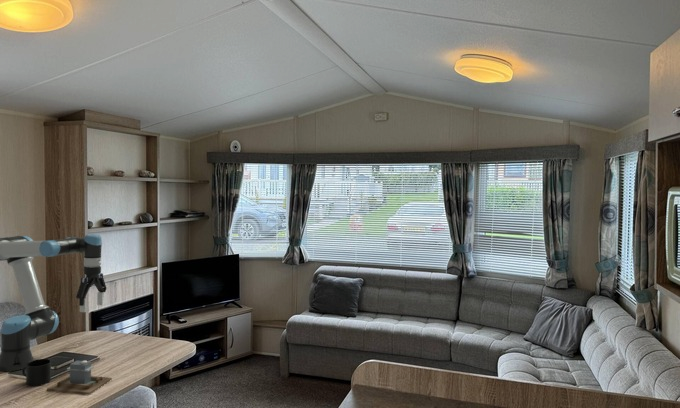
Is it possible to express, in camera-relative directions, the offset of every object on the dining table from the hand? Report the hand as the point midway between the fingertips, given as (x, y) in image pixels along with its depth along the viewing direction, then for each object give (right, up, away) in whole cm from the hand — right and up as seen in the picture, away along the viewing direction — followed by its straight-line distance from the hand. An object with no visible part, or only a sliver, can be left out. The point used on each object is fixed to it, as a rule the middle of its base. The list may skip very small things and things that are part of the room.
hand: (91, 308), depth 235 cm
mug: (-15, -29, -20) cm, 38 cm away
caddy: (+6, -30, -22) cm, 37 cm away
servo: (+6, -29, -22) cm, 37 cm away
